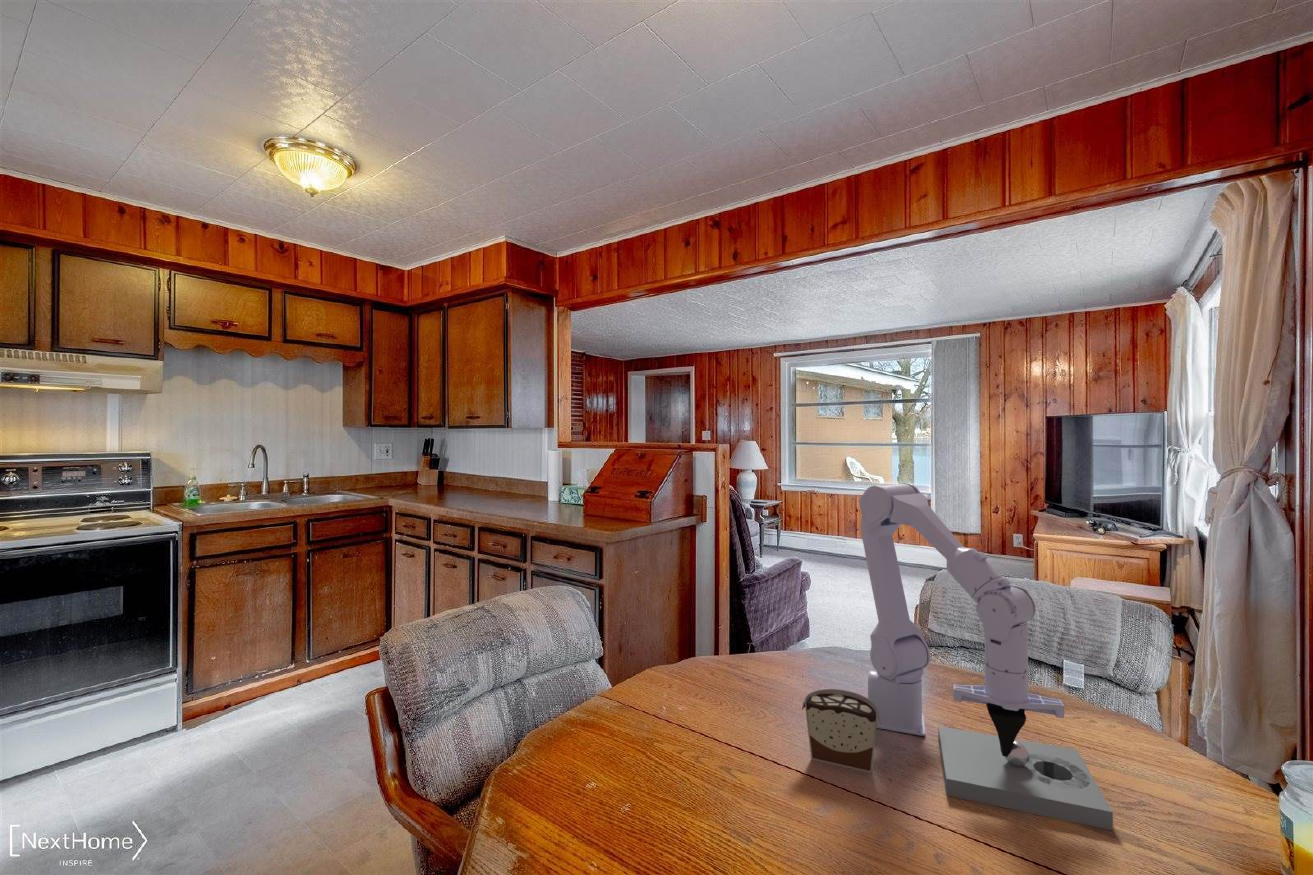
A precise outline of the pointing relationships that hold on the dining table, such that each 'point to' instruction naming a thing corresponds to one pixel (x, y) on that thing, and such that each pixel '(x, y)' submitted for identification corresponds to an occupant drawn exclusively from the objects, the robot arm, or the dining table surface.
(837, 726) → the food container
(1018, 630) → the robot arm
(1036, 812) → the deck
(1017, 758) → the ball
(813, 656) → the dining table surface
